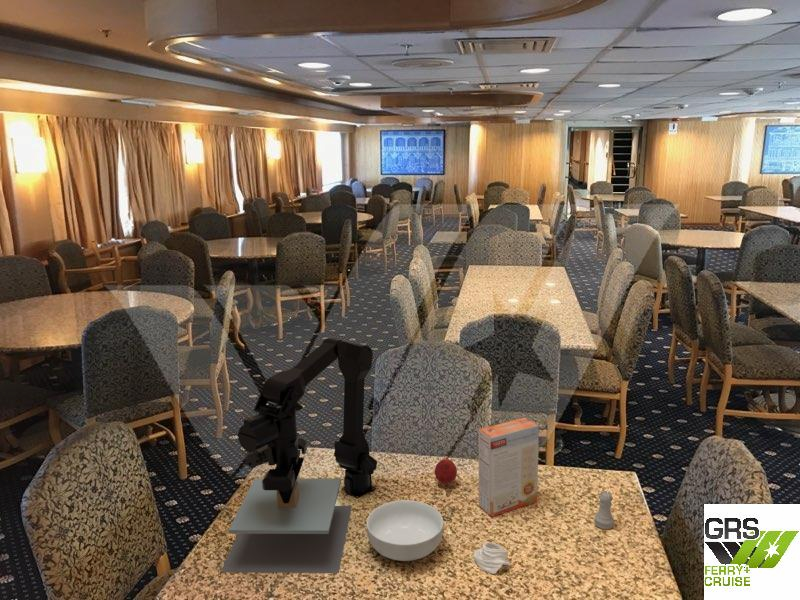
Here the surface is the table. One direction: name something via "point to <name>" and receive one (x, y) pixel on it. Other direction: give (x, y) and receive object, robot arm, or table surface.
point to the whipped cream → (491, 557)
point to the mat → (291, 550)
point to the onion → (445, 471)
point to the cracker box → (508, 465)
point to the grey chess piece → (604, 511)
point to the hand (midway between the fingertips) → (288, 497)
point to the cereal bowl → (405, 529)
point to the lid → (288, 508)
